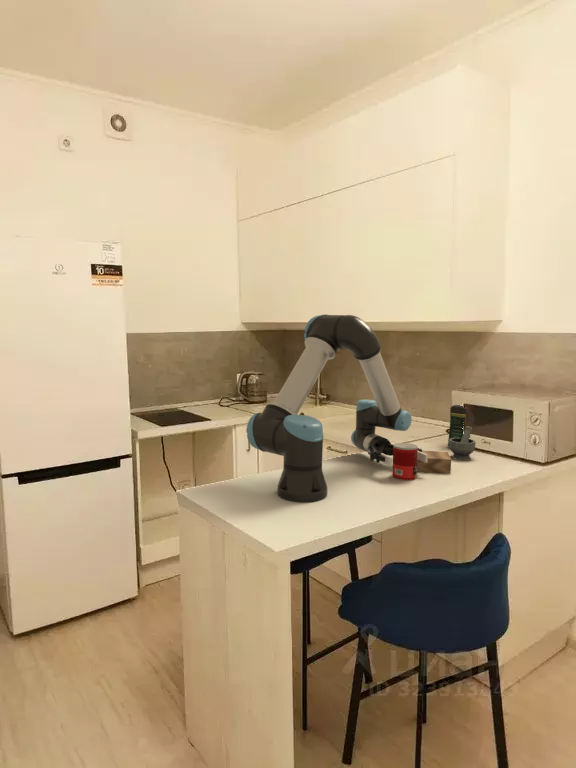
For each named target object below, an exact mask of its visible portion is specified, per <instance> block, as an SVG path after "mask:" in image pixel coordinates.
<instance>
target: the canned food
mask: <svg viewBox="0 0 576 768" xmlns="http://www.w3.org/2000/svg"><path fill="white" fill-rule="evenodd" d="M393 445H394V446H393V455H392V469H391V470H392V471H391V472H392V473H391V474H392V477H393V478H394V479H396V480H400V481H413V480H416V478H417V472H418V469H417V452H418V448H419V447H418V445H416V444H413V443H409V442H408V443H407V442H397V443H394V444H393Z"/></svg>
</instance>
